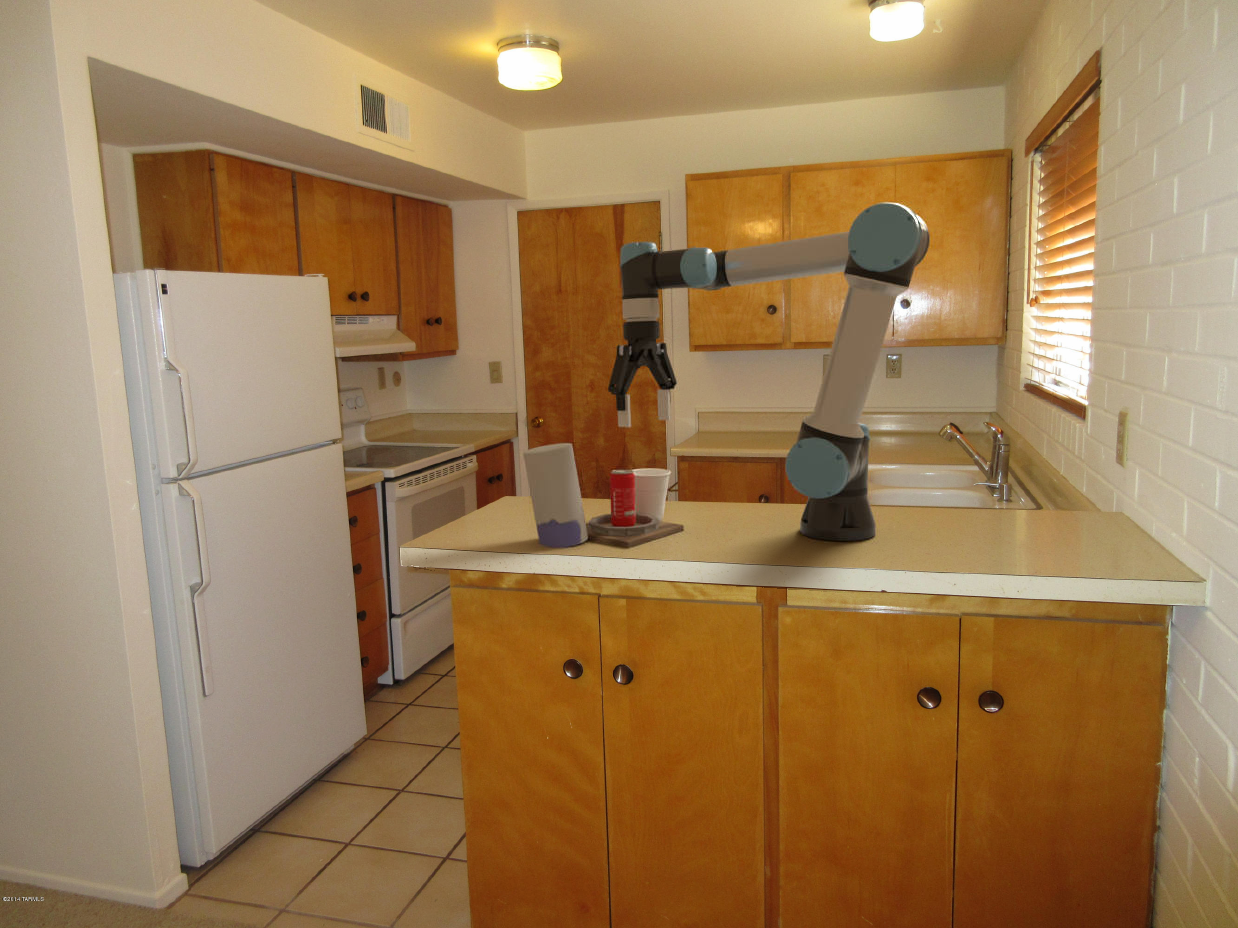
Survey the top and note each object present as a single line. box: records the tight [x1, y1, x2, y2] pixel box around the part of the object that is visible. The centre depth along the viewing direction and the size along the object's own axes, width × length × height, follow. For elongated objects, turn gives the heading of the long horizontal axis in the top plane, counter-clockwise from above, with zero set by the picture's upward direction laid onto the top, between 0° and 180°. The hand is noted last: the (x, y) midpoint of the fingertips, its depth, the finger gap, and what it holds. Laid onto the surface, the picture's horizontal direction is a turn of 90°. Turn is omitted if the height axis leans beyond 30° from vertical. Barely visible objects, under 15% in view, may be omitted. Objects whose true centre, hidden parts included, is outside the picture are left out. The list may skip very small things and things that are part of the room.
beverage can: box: [609, 469, 636, 527], centre depth 179 cm, size 5×5×12 cm
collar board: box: [586, 513, 685, 549], centre depth 180 cm, size 18×18×3 cm
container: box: [522, 442, 588, 549], centre depth 173 cm, size 10×10×20 cm
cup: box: [631, 467, 672, 521], centre depth 191 cm, size 10×10×11 cm
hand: (645, 423), depth 178 cm, fingers open, 13 cm apart
